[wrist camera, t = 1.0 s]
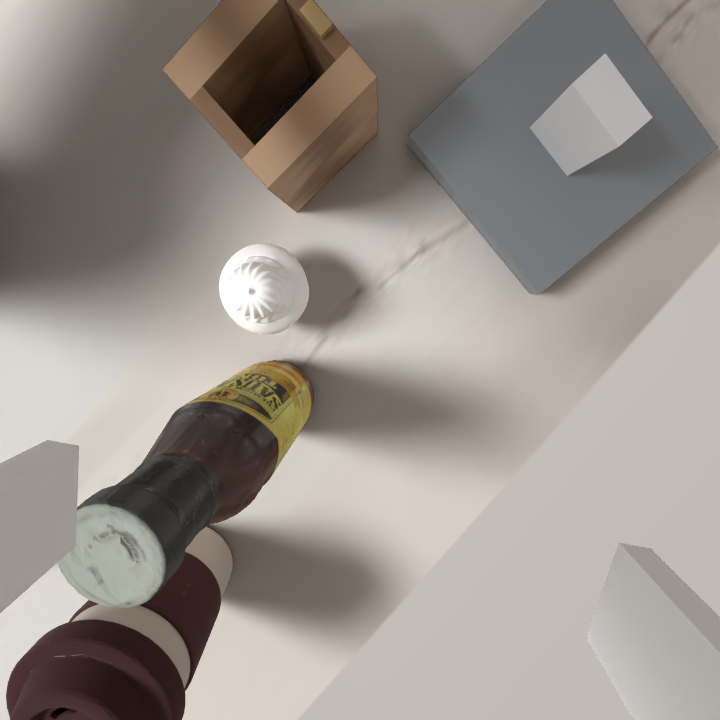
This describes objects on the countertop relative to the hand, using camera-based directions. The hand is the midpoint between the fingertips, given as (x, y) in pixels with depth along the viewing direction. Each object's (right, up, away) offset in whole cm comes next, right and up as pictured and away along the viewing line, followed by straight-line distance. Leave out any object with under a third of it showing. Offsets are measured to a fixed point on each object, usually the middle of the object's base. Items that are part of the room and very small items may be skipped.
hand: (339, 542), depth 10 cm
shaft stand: (+14, +19, +19) cm, 30 cm away
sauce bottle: (-6, +2, +23) cm, 24 cm away
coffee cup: (-14, -13, +27) cm, 33 cm away
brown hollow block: (-4, +21, +19) cm, 29 cm away
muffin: (-6, +10, +22) cm, 24 cm away
